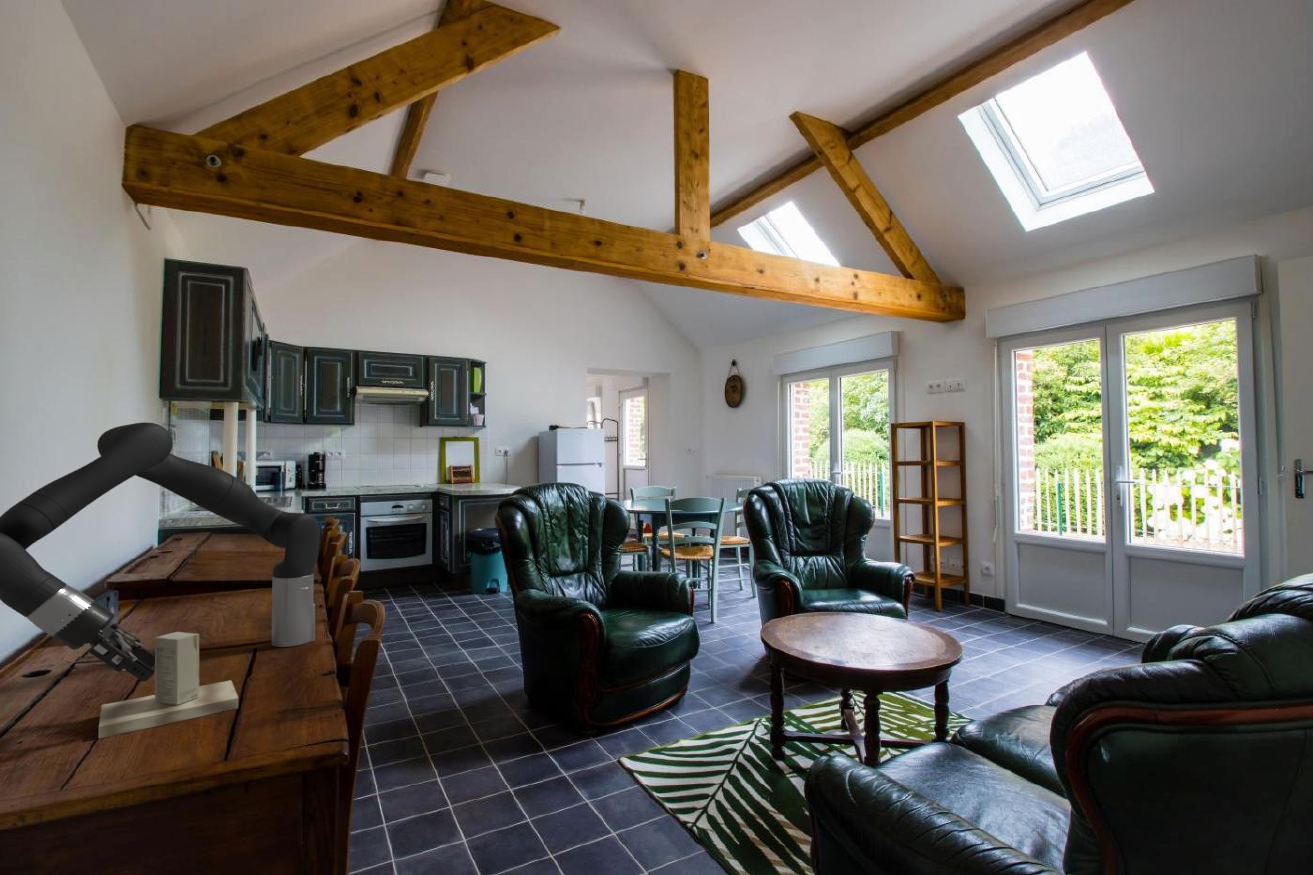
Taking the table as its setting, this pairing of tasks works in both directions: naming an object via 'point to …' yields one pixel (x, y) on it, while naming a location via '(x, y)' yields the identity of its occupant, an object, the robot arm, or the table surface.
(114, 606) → the vhs cassette tape
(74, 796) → the table surface
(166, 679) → the skincare box
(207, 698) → the birch board
